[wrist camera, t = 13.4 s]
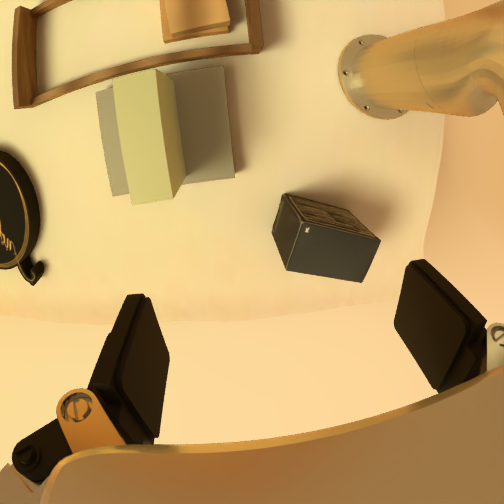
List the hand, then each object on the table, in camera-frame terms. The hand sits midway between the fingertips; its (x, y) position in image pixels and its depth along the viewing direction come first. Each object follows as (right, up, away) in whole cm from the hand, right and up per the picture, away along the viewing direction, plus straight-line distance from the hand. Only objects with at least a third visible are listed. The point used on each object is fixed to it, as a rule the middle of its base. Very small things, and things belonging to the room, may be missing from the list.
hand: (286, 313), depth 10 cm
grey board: (-12, +18, +24) cm, 32 cm away
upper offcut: (-8, +33, +15) cm, 37 cm away
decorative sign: (-46, +8, +26) cm, 54 cm away
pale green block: (-12, +16, +22) cm, 30 cm away
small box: (+7, +6, +32) cm, 33 cm away
